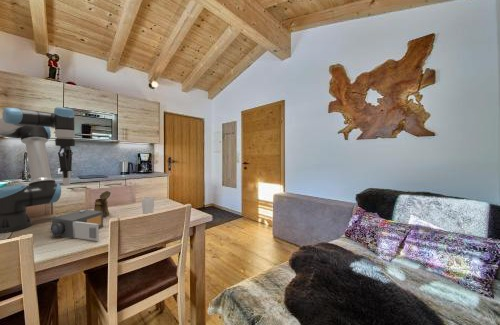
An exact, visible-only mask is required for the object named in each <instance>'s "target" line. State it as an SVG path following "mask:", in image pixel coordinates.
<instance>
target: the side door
mask: <svg viewBox="0 0 500 325" xmlns="http://www.w3.org/2000/svg"><path fill="white" fill-rule="evenodd" d="M99 229H100V228H99V224H94V223H86V222H77V221H74V222H73V238H72V239H80V240H87V241H95V242H98V241H99V240H100V235H99V234H100V230H99Z"/></svg>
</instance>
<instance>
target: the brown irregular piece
mask: <svg viewBox="0 0 500 325" xmlns="http://www.w3.org/2000/svg"><path fill="white" fill-rule="evenodd" d="M110 196H111V192H110V191H108V190H105V191H104V192H101V194H100V195H99V198H96V199H95V201H94V209H93V211H101V212H103V218H106V217H108V216H110V212H109V205H108V203H109V202H108V200H107V199H109V198H110Z"/></svg>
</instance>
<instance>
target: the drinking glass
mask: <svg viewBox="0 0 500 325" xmlns="http://www.w3.org/2000/svg"><path fill="white" fill-rule="evenodd" d="M154 206H155V197H154V196H150V195H148V196H143V197H142V198H141V207H142V209H141V210H142V215H143V214H148V213H153V214H154Z"/></svg>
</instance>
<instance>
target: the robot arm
mask: <svg viewBox="0 0 500 325" xmlns="http://www.w3.org/2000/svg"><path fill="white" fill-rule="evenodd" d="M75 117H76V116H75V111H74V109H72V108H69V107H59V106H57V107H55V108H54V110H53V112H48V111H40V110H32V109H24V108H19V107H4V108H3V110H2V116H0V136H1V137H5V138H11V139H20V141H21V143H22V144H24V145H25V151H26V156H27V161H28V167H29V173H30V178H31V180H30V181H29V183H28V186H26V185H25V184H15V185H13V184H12V185H8V186H3V187H0V232H5V233H8V232H7V231H12V232H15V231H20V230H23V229H27V228H29V227H31V226H32V220H31V217H30V216H29V214H28V213H27V208H29V207H35V206H42V205H47V204H48V205H49V204H53V203H57V202H58V201H59V200H60V199H61V195H62V186H61V184H60V183H58V182H56V179H53V178H52V175H51V174H52V173H51V168H50V163H49V158H48V152H47V147H46V144H47V143H48V142H49V141H48V140H50V139H51V136H52V135H51V134H52V131H51V129H50V128H52V129H54V131H53V134H55V140H54V141H55V146H56V147H60V148H59V150H58V153H57V155H58V159H59V160H58V161H59V168H60V170H59V172H60V173H61V172H62V174H61V176H62V185H71V172H73V169H72V168H73V167H72V162H73V151H72V149H71V147H75V146H76V140H75V138H76V134H75Z"/></svg>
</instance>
